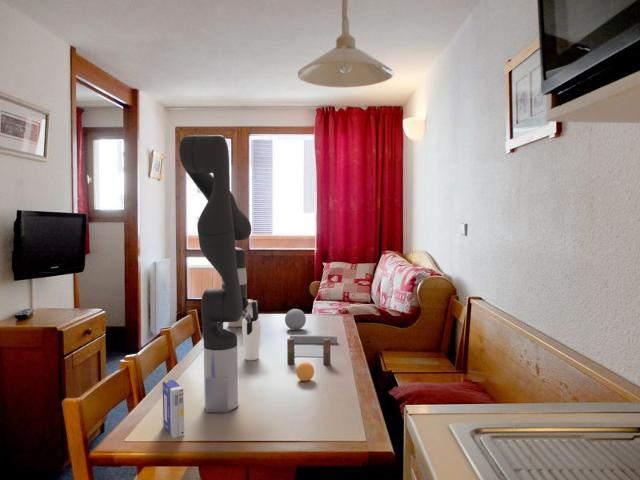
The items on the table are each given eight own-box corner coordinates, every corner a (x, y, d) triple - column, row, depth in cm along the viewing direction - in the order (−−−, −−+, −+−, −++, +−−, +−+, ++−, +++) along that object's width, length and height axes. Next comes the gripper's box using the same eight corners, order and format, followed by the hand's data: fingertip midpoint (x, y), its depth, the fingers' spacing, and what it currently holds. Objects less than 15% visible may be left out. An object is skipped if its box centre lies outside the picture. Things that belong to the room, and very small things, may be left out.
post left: (294, 364, 162) (294, 340, 162) (287, 364, 162) (286, 340, 162) (294, 362, 165) (294, 338, 164) (287, 362, 165) (287, 338, 165)
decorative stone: (282, 328, 217) (282, 307, 216) (302, 326, 220) (302, 306, 220) (288, 333, 207) (288, 311, 207) (308, 331, 211) (308, 310, 210)
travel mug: (245, 323, 226) (245, 288, 225) (243, 327, 218) (243, 290, 217) (229, 323, 226) (229, 288, 225) (227, 327, 218) (226, 291, 217)
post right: (330, 365, 162) (330, 340, 161) (323, 365, 162) (323, 340, 161) (330, 362, 164) (330, 338, 164) (323, 362, 164) (323, 338, 164)
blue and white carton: (163, 426, 114) (162, 380, 114) (174, 423, 116) (173, 378, 115) (173, 438, 108) (172, 389, 107) (184, 435, 109) (183, 387, 109)
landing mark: (328, 357, 171) (328, 356, 171) (292, 356, 172) (292, 356, 172) (329, 346, 185) (329, 346, 185) (295, 346, 186) (295, 346, 186)
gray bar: (337, 343, 190) (337, 336, 190) (289, 343, 191) (289, 336, 191) (337, 342, 192) (337, 335, 192) (290, 341, 193) (290, 334, 193)
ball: (313, 384, 143) (313, 365, 143) (295, 383, 143) (295, 365, 143) (314, 377, 149) (314, 359, 149) (296, 377, 149) (296, 359, 149)
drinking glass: (257, 362, 165) (256, 321, 165) (239, 361, 167) (239, 321, 166) (263, 356, 172) (262, 317, 171) (246, 355, 173) (246, 317, 173)
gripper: (207, 284, 134) (208, 337, 135) (254, 284, 133) (255, 337, 135) (214, 280, 141) (215, 330, 143) (259, 280, 141) (260, 330, 142)
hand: (235, 333), depth 139 cm, fingers open, 8 cm apart
